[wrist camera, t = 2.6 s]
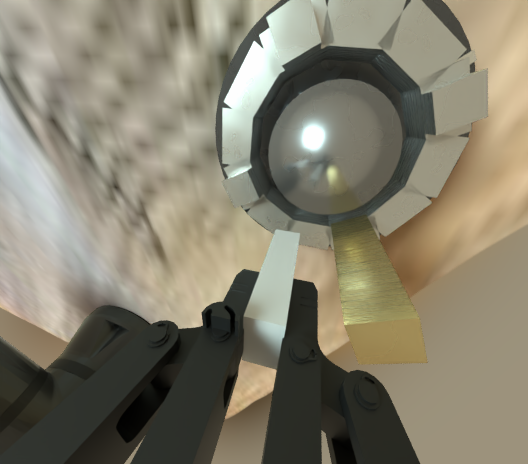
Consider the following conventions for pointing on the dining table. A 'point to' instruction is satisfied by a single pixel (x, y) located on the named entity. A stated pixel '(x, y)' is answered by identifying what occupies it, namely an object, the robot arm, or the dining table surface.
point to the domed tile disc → (411, 159)
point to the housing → (332, 126)
